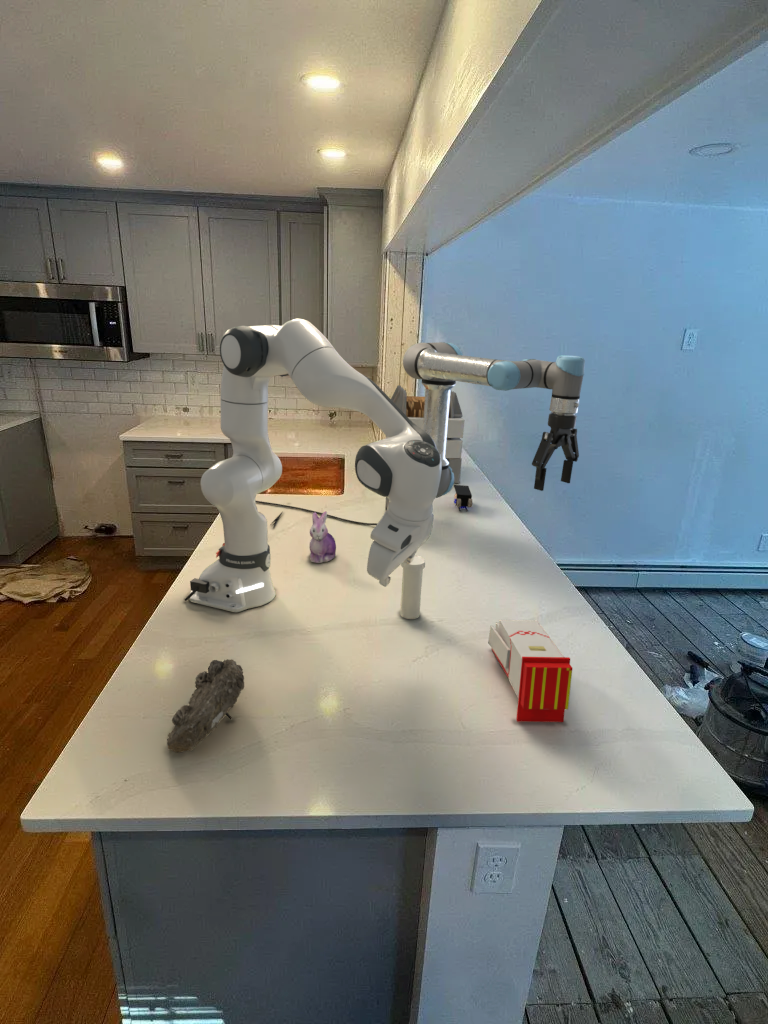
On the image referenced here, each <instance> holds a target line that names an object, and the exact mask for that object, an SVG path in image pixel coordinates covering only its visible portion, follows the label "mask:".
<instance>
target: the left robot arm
mask: <svg viewBox="0 0 768 1024" xmlns="http://www.w3.org/2000/svg"><path fill="white" fill-rule="evenodd" d="M219 356H220V359H221V362H222V364H223V367H222V374H221V382H220V430H221V432H222V434H223V436H225V437H226V438H228V439H229V440H230V441H229V442H230V444H231V447H232V457H229V458H226V459H223V460H219V461H218V462H216V463H215V464H213V465H212V466H211V467H209V468H208V469H207V470H206V471H204V472H203V474H202V475H201V477H200V490H201V493H202V495H203V497H204V498H205V500H206V501H207V502H208V503H210V504H211V505H212V506H214V507H215V508H216V509H217V511H218V513H219V515H220V518H221V521H222V527H223V528H222V529H223V530H222V531H223V539H224V540H223V541H224V542H223V543H222V546H221V547H219V548H218V551H217V552H215V558H216V559H217V558H218V559H217V560H215V561H214V562H212V563H211V564H209V565H208V566H207V567H205V569H203V570H202V572H201V573H200V575H199V577H198V578H195V577H194V578H193V579H191V580H190V581H189V584H190V585H189V586H190V592H189V594H188V595H187V596H186V597H185V598H184V599H183V600H184V602H187V601H188V600H189V602H191V603H194V604H199V605H202V606H207V607H211V608H214V609H219V610H224V611H227V612H231V613H241V612H243V611H245V610H247V609H253V608H257V607H261V606H264V605H266V604H268V603H270V602H271V601H273V600H274V599H275V598H276V594H277V593H276V590H275V587H274V584H273V579H272V574H271V569H270V567H271V562H272V561H271V560H272V558H271V548H270V545H269V532H268V519H267V517H266V515H265V514H264V513H262V512H261V511H259V509H258V506H257V503H256V502H255V501H256V497H257V496H258V495H259V494H261V493H264V492H265V491H267V490H270V489H271V488H272V487H273V486H274V485H275V484H276V483H277V482H278V481H279V480H280V478H281V476H282V475H283V464H282V461H281V459H280V457H279V456H278V455H277V454H276V453H275V452H274V451H273V447H272V444H271V441H270V435H269V383H270V381H271V379H272V378H273V377H277V376H280V377H287V376H289V377H290V379H291V381H292V382H293V384H294V385H295V386H296V388H297V390H298V391H299V393H301V395H302V396H303V397H304V398H305V399H306V400H307V401H309V402H310V403H312V404H313V405H315V406H318V407H322V408H330V409H331V408H332V409H333V408H335V409H345V410H351V411H355V412H358V413H361V414H363V415H364V416H366V417H368V418H369V419H370V420H371V421H372V422H373V423H374V425H376V427H377V428H378V429H379V430H380V431H381V432H382V433H383V434H384V435H385V438H386V436H387V437H388V438H386V439H385V438H382V439H378V440H376V441H375V440H374V441H372V442H369V443H367V444H365V445H362V446H361V447H360V448H359V449H358V450H357V452H356V456H355V458H354V470H355V476H356V478H357V480H358V481H359V483H360V484H361V485H362V486H363V487H364V488H366V489H368V490H369V491H371V492H373V493H375V494H377V495H378V496H380V497H383V498H386V497H388V499H389V502H388V507H387V510H386V511H385V510H384V511H383V512H384V513H383V515H382V516H381V518H380V520H379V521H378V522H377V523H378V524H377V525H374V527H373V529H372V530H371V532H370V539H371V540H373V541H372V543H371V545H370V547H369V551H368V557H367V564H366V572H367V574H368V575H369V576H370V577H372V578H373V579H375V580H377V581H378V584H379V585H381V586H383V587H384V588H386V587H387V586H389V584H390V583H391V580H392V577H391V576H390V575H391V574H393V572H394V571H396V570H397V568H398V567H400V566H401V564H402V563H403V562H405V563H407V564H410V563H411V562H412V561H413V558H414V555H416V553H417V551H418V550H419V548H420V547H421V546H422V545H423V544H424V543H426V542H427V540H429V538H430V536H431V534H432V529H433V524H434V518H435V516H434V512H433V511H434V506H433V504H434V501H435V500H436V499H437V498H436V496H437V492H438V488H439V484H440V479H441V471H442V462H441V456H440V453H439V452H438V450H437V448H436V445H435V442H434V440H433V439H432V438H431V436H430V435H429V434H428V433H427V432H426V431H424V430H423V429H421V428H420V427H418V426H417V425H415V424H414V423H413V422H412V421H411V420H410V419H409V418H408V417H407V416H406V415H405V414H404V413H403V412H402V411H401V410H400V409H399V408H398V406H397V405H396V404H395V403H394V402H393V401H392V400H391V398H390V396H388V395H387V393H386V392H385V391H384V390H383V389H382V388H381V387H380V386H378V384H377V383H375V382H374V380H372V379H370V378H369V377H367V376H366V375H365V374H363V373H361V372H359V371H358V370H356V369H355V368H354V367H353V366H351V365H350V364H349V363H348V362H347V361H346V360H345V359H344V358H343V357H342V356H341V354H340V353H339V352H338V351H337V350H336V349H335V347H334V346H333V344H332V343H331V341H329V340H328V338H327V337H326V336H325V335H324V334H323V332H321V331H320V330H319V329H318V328H317V327H316V326H315V325H314V324H313V323H312V322H310V321H309V320H306V319H304V318H293V319H290V320H288V321H286V322H285V323H283V324H282V325H278V324H265V325H250V326H247V325H239V326H234V327H231V328H229V329H227V330H226V331H225V332H224V333H223V335H222V337H221V340H220V344H219Z"/></svg>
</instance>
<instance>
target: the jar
mask: <svg viewBox="0 0 768 1024" xmlns="http://www.w3.org/2000/svg"><path fill="white" fill-rule="evenodd" d="M423 572H424V569H422V570H419V571H410V570H406V569H404V568H403V567H402V575H401V576H402V579H401V595H400V612H399V614H400V617H402V618H403V619H407V620H415V619H417V618H419V617H420V611H421V601H422V598H421V597H422V585H423Z"/></svg>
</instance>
